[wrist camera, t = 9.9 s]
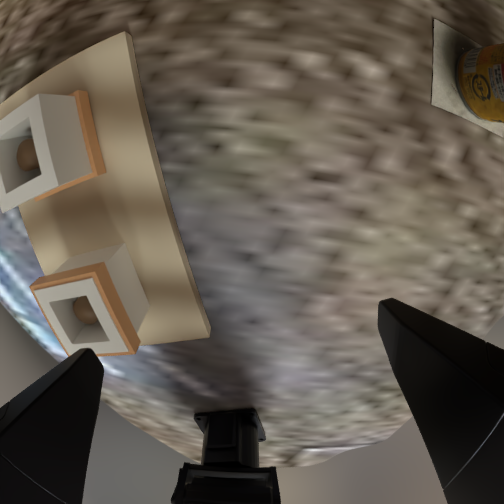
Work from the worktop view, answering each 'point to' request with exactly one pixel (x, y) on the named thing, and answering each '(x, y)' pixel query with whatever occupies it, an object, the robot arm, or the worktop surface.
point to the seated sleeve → (95, 302)
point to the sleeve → (48, 147)
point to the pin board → (114, 194)
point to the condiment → (468, 78)
